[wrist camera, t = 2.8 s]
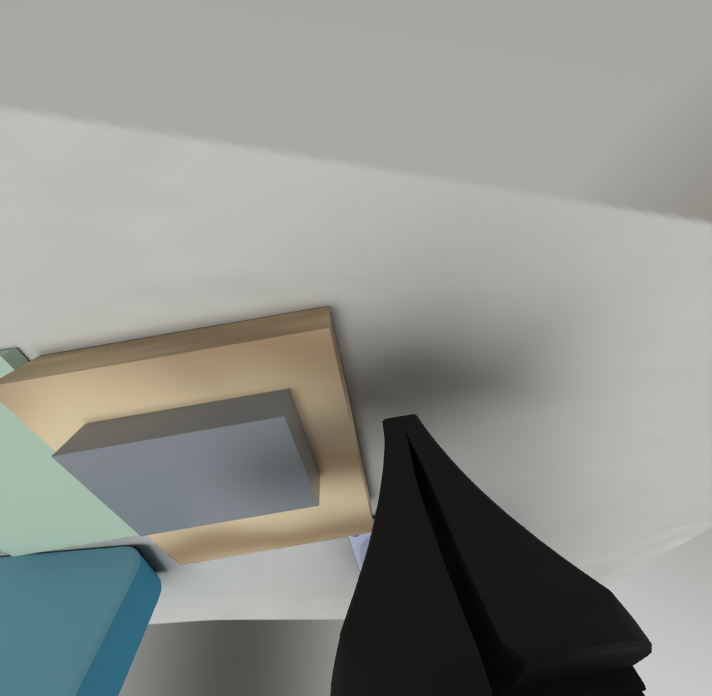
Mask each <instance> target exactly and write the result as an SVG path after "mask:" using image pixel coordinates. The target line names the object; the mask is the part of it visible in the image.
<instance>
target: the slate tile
mask: <svg viewBox="0 0 712 696" xmlns="http://www.w3.org/2000/svg"><path fill="white" fill-rule="evenodd" d="M51 457H52V458H53V459H54V460H56V461H57V462H58V463H59V464H60V465H61V466H62V467H63V468H65V469H66V470H67V471H68V472H69V473H70V474H71V475H72V476H74V477H75V478H76V479H77V480H78V481H79V482H80V483H81V484H83V485H84V486H85V487H86V488H87V489H88V490H89V491H90V492H91V493H93V494H94V495H95V496H96V497H97V498H98V499H99V500H100V501H102V502H103V503H104V504H105V505H106V506H107V507H108V508H109V509H111V510H112V511H113V512H114V513H115V514H116V515H117V516H118V517H120V518H121V519H122V520H123V521H124V522H125V523H126V524H127V525H129V526H130V527H131V528H132V529H133V530H134V531H135V532H136V533H138V534H139V535H140V536H146V535H152V534H158V533H164V532H169V531H175V530H181V529H187V528H193V527H198V526H204V525H210V524H216V523H222V522H227V521H233V520H239V519H245V518H251V517H256V516H262V515H268V514H274V513H280V512H285V511H291V510H297V509H303V508H309V507H314V506H319V496H320V473H319V470H318V467H317V465H316V462H315V459H314V456H313V453H312V450H311V448H310V445H309V442H308V439H307V436H306V433H305V430H304V428H303V425H302V422H301V419H300V416H299V413H298V411H297V408H296V405H295V402H294V399H293V396H292V394H291V391H290V388H289V389H283V390H277V391H271V392H265V393H260V394H254V395H248V396H242V397H236V398H231V399H225V400H219V401H213V402H207V403H202V404H196V405H190V406H184V407H178V408H173V409H167V410H161V411H155V412H149V413H144V414H138V415H132V416H126V417H120V418H115V419H109V420H103V421H97V422H91V423H86V424H84V425H83V426H82V427H81V428H80V429H79V430H78V431H77V432H76V433H75V434H74V435H73V436H72V437H71V438H70V439H69V440H68V441H67V442H66V443H65V444H64V445H63V446H61V447H60V448H59V449H58V450H57V451H56V452H55V453H54V454H53V455H52V456H51Z"/></svg>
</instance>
